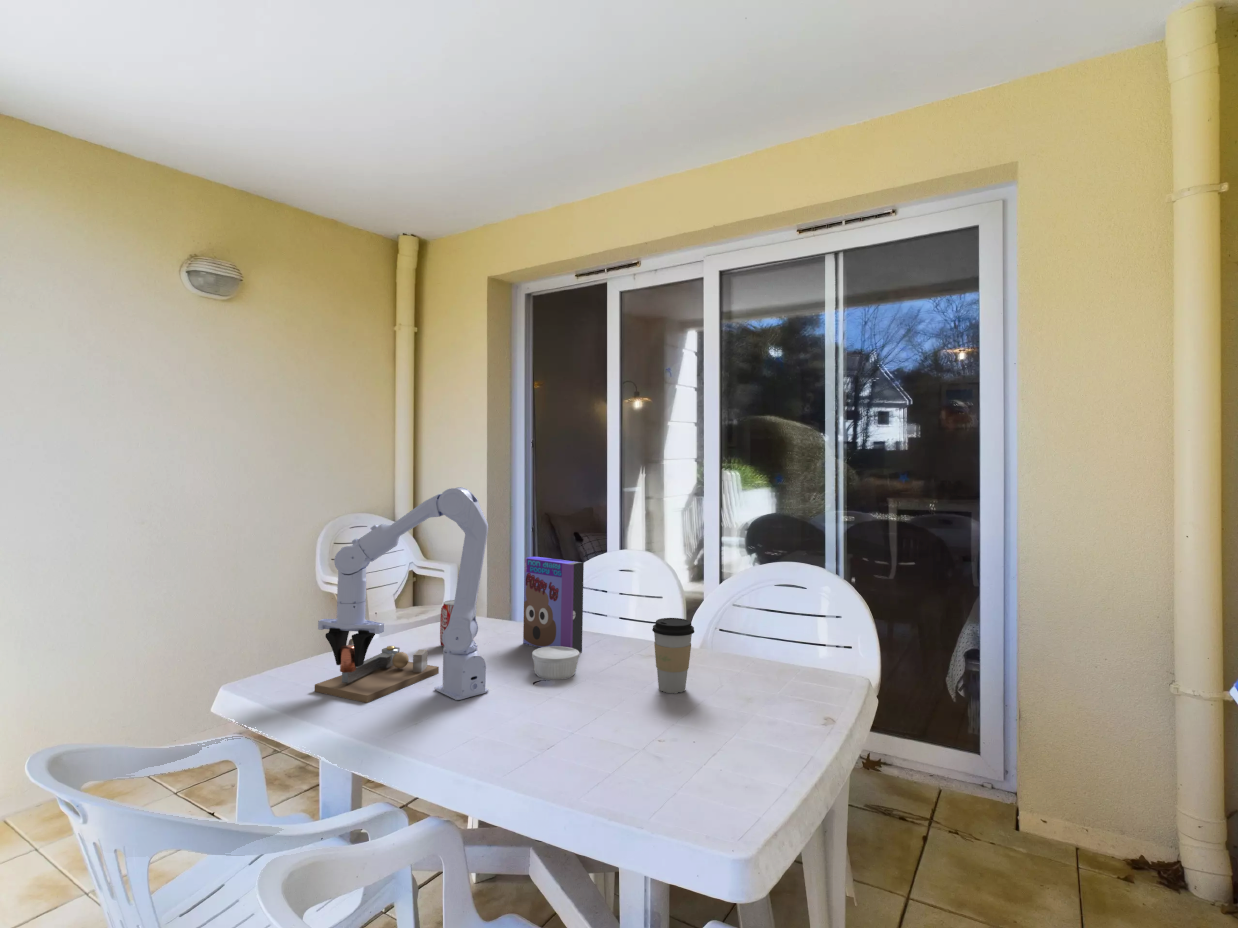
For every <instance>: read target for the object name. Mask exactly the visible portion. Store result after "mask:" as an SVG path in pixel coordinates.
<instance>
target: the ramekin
mask: <svg viewBox="0 0 1238 928" xmlns="http://www.w3.org/2000/svg"><path fill="white" fill-rule="evenodd" d="M580 653H581V652H580ZM580 653H579V651H578V650H576V649H573V648H569V647H562V646H548V647H541V648H538V647H537V648H536V649H534V650H533V651H532V652H531V658H532V661H533V668H534V673H535V674H536V675H537V677H538V678H540V679H541V678H542V679H543V680H544V679H545V680H552V681H553V680H565V679H569V678H572V677H573V676H574V675H575V674H576V671H577V667H578V662H579V658H580Z"/></svg>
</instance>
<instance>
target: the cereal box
mask: <svg viewBox="0 0 1238 928" xmlns="http://www.w3.org/2000/svg"><path fill="white" fill-rule="evenodd" d="M584 565H585V563H584V562H581V561H575V560H573V561H572V560H564V559H558V558H550V557H542V556H541V557H540V556H528V557H524V577H523V578H524V584H523V585H524V586H523V587H524V588H523V589H524V590H523V591H524V592H523V632H522V633H523V634H522V635H523V637H522V644H523V645H526V646H530V647H534V648H537V649H538V648H541V647H548V646H562V647H569V648H573V649H576V650H578V651H579V653H582V652H583V620H584V619H583V617H584V614H583V613H584V611H583V610H584V572H585V571H584Z"/></svg>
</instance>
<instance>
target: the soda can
mask: <svg viewBox="0 0 1238 928" xmlns="http://www.w3.org/2000/svg"><path fill="white" fill-rule="evenodd" d="M454 600H455V599H450V600H446V601H445V600H444V601H443V604H442V607H441V609H440V617H439V618H440V625H439V641H440V642H439V643H440V645H441V646H442V647H443V648H444V644H443V641H442V636H443V632H444V630H445V629H446V628H447V626H448V624H449V621H450V616H451V613H452V609H453V606H454Z"/></svg>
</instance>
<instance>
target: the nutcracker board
mask: <svg viewBox="0 0 1238 928" xmlns="http://www.w3.org/2000/svg"><path fill="white" fill-rule="evenodd" d="M439 668H440V667H439V666H437V665H430V664H428V649H418V650H417V651H416V652H415V653H413V654H412V661H408V664H407V665H406V666H405V667H403V668H397V667H395V666H394V665H393V666H391V667H389V668H378V669H376V670H374V671H372V672H370V673H368V674H366V675H364V676H362V677H360V678H358V679H356V680H354V681H352V682H350V683H342V674H340V675H338V676H335V677H332V678H329V679H326V680H324V681H321V682H318V683H315V684H314V693H319V694H324V695H329V696H333V697H338V698H343V699H347V700H352V701H357V702H362V703H366V704H368V703H370V702H372V701H375V700H378V699H380V698H383V697H385V696H387V695H389V694H392V693H395V692H397V691H400V690H402V689H405V688H407V687H409V686H411V685H413V684H416V683H419V682H421V681H424V680H426V679H428V678H430V677H433V676H435V675H437V674H439V672H440V669H439Z"/></svg>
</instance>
